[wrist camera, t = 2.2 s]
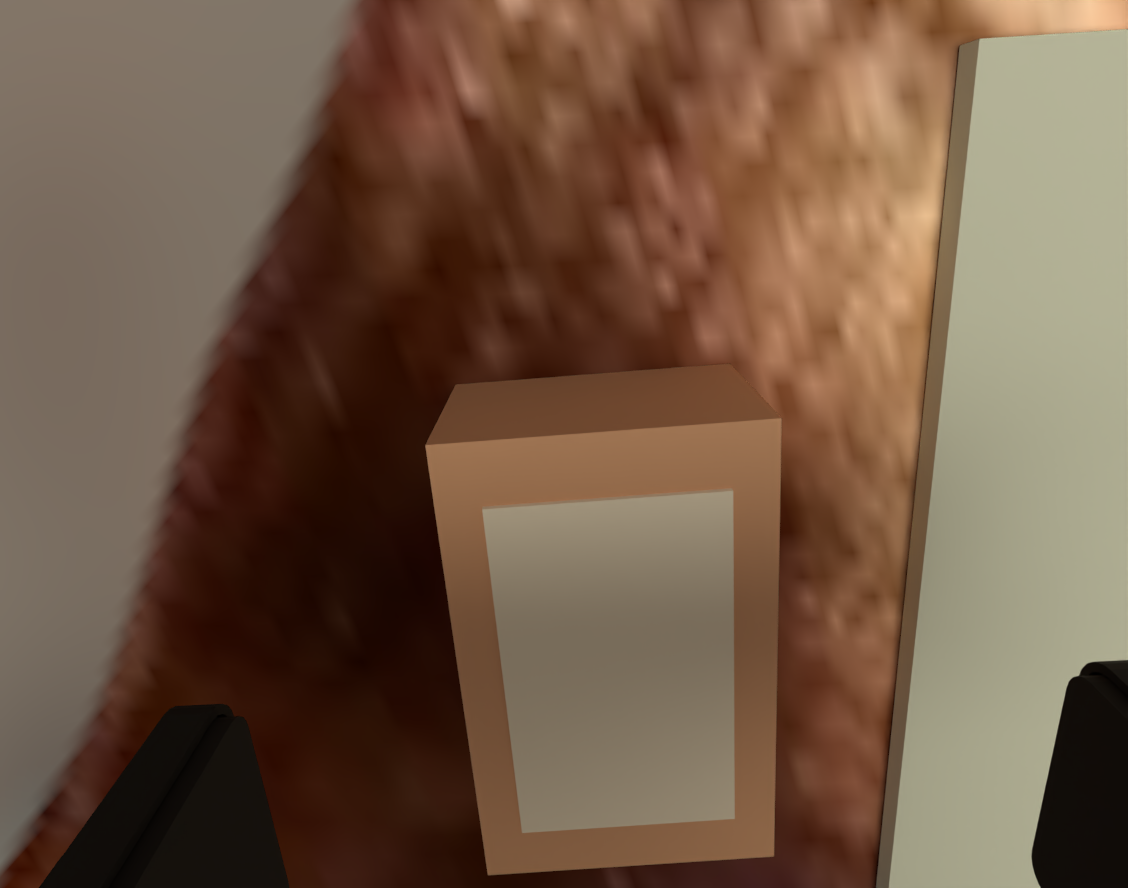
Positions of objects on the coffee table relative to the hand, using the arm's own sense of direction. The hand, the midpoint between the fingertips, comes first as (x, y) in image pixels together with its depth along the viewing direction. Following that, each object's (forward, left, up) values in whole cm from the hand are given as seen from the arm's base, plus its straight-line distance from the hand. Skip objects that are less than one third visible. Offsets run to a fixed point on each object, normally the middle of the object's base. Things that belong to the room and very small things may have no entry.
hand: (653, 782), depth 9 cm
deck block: (-1, 0, -7) cm, 7 cm away
